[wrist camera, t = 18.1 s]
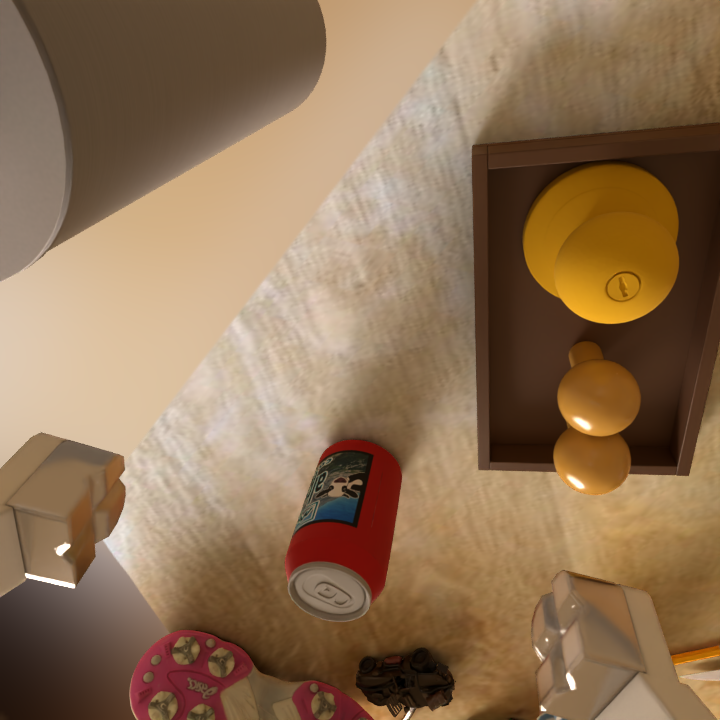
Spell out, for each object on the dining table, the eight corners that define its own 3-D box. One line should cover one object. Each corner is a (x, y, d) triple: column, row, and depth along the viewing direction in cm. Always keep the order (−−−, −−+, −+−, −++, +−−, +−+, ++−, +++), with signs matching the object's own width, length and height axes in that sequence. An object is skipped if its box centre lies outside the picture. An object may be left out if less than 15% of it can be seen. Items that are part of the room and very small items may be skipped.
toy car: (465, 686, 58) (462, 729, 54) (362, 691, 63) (352, 732, 59) (444, 645, 56) (438, 687, 52) (338, 654, 61) (327, 693, 57)
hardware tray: (478, 446, 43) (478, 470, 40) (472, 144, 32) (471, 155, 29) (677, 450, 40) (689, 476, 37) (747, 119, 29) (769, 129, 26)
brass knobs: (544, 435, 40) (555, 509, 34) (550, 324, 36) (564, 387, 30) (610, 436, 39) (634, 512, 33) (626, 322, 35) (655, 387, 29)
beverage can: (349, 417, 43) (310, 542, 33) (420, 463, 44) (403, 597, 34) (305, 467, 47) (258, 593, 37) (372, 508, 48) (344, 641, 38)
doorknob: (659, 135, 29) (684, 272, 33) (505, 192, 32) (543, 313, 35) (708, 170, 23) (733, 335, 26) (511, 237, 26) (556, 378, 29)
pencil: (737, 650, 49) (737, 653, 48) (638, 670, 53) (637, 674, 52) (732, 640, 49) (732, 644, 48) (634, 661, 53) (633, 665, 52)
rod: (434, 673, 59) (434, 680, 58) (388, 751, 69) (387, 758, 69) (428, 671, 59) (427, 678, 58) (383, 749, 69) (382, 756, 69)
